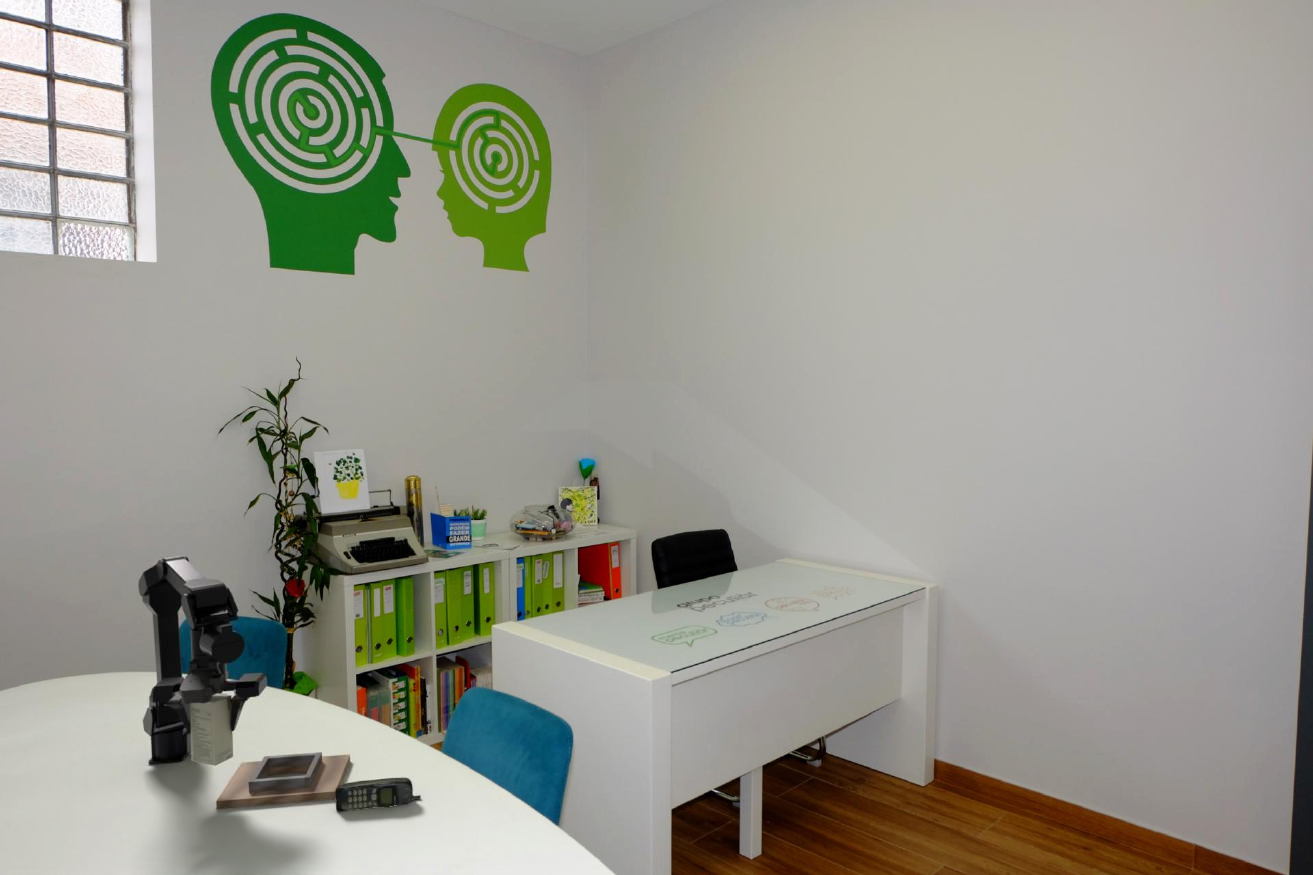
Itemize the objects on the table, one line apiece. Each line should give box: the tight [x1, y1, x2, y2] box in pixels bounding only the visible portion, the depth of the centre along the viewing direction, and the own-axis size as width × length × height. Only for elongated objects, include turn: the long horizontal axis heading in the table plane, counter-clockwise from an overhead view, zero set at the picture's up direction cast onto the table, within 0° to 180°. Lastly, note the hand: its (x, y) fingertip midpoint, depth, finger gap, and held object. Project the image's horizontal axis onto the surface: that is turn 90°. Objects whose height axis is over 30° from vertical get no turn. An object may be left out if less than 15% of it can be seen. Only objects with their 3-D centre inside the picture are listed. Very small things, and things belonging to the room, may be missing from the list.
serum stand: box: [215, 751, 351, 810], centre depth 169 cm, size 21×16×4 cm
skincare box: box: [190, 692, 234, 767], centre depth 162 cm, size 6×4×12 cm
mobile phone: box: [335, 777, 422, 813], centre depth 161 cm, size 5×3×15 cm
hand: (212, 731), depth 162 cm, fingers closed on skincare box, 7 cm apart
